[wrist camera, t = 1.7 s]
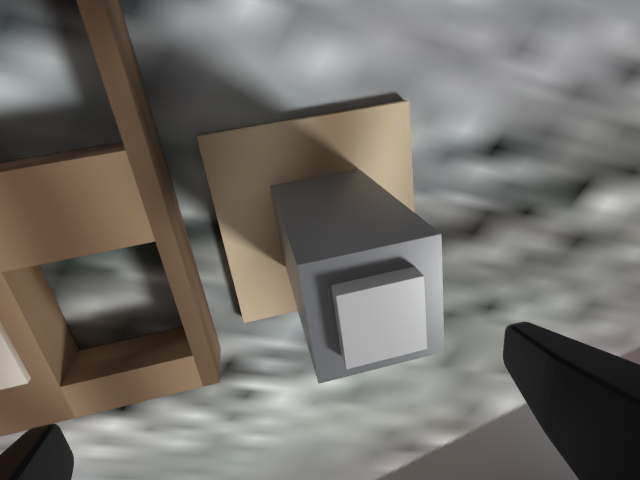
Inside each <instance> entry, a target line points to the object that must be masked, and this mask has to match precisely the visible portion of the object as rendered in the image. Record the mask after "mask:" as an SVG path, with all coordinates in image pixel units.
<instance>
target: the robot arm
mask: <svg viewBox="0 0 640 480" xmlns="http://www.w3.org/2000/svg"><path fill="white" fill-rule="evenodd" d="M503 360H504V364H505V366H506V368H507V370H508V372H509V373H510V375H511V377H512V379H513V380H514V382H515V384H516V385H517V387H518V389H519V390H520V392H521V394H522V395H523V397H524V399H525V400H526V402H527V404H528V406H529V407H530V409H531V410H532V412H533V414H534V416H535V417H536V419H537V421H538V422H539V424H540V426H541V427H542V429H543V430H544V432H545V433H546V435H547V436H548V438H549V439H550V440H551V442H552V443H553V445H554V446H555V447H556V449H557V450H558V451H559V453H560V454H561V456H562V457H563V458H564V460H565V461H566V462H567V464H568V465H569V466H570V468H571V469H572V471H573V472H574V473H575V475H576V476H577V477H578V479H579V480H640V365H639V364H636V363H634V362H631V361H629V360H626V359H623V358H621V357H618V356H615V355H613V354H610V353H608V352H605V351H602V350H600V349H597V348H595V347H592V346H589V345H587V344H584V343H581V342H579V341H576V340H574V339H571V338H568V337H566V336H563V335H560V334H558V333H555V332H553V331H550V330H547V329H545V328H542V327H539V326H537V325H534V324H532V323H529V322H520V323H515V324H511V325H509V326H507V328H506V330H505V338H504V349H503ZM73 467H74V457H73V453H72V451H71V449H70V447H69V445H68V443H67V441H66V439H65V437H64V435H63V433H62V431H61V429H60V427H59V426H58V425H56V424H47V425H43V426H38V427H34V428H31V429H29V430H28V431H27V432H26V433H24V434H23V435H22V436H21V437H20V438H19V439H18V440H17V441H15V442H14V443H13V444H12V445H11V446H10V447H9V448H7V449H6V450H5V451H4V452H3V453H2V454H1V455H0V480H71V478H72V473H73Z"/></svg>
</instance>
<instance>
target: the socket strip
mask: <svg viewBox="0 0 640 480" xmlns="http://www.w3.org/2000/svg"><path fill="white" fill-rule="evenodd" d="M76 1H77V4H78V7H79V10H80V13H81V16H82V19H83V22H84V25H85V28H86V32H87V35H88V38H89V41H90V44H91V47H92V50H93V53H94V56H95V59H96V62H97V65H98V68H99V71H100V74H101V77H102V80H103V83H104V86H105V89H106V92H107V96H108V99H109V102H110V105H111V108H112V111H113V114H114V117H115V120H116V123H117V126H118V129H119V132H120V135H121V138H122V141H123V142H120V143H114V144H108V145H102V146H96V147H90V148H85V149H79V150H73V151H67V152H61V153H55V154H49V155H43V156H37V157H32V158H26V159H20V160H14V161H8V162H2V163H0V436H4V435H8V434H12V433H17V432H21V431H25V430H29V429H31V428H34V427H38V426H43V425H47V424H53V423H57V422H61V421H65V420H69V419H73V418H77V417H81V416H85V415H89V414H93V413H98V412H102V411H106V410H110V409H114V408H118V407H122V406H126V405H130V404H134V403H138V402H142V401H146V400H150V399H154V398H158V397H162V396H166V395H170V394H174V393H179V392H183V391H187V390H191V389H195V388H199V387H203V386H207V385H211V384H215V383H219V382H220V351H221V349H220V345H219V342H218V338H217V335H216V331H215V328H214V325H213V321H212V318H211V314H210V311H209V307H208V304H207V301H206V297H205V294H204V290H203V287H202V283H201V280H200V277H199V273H198V270H197V266H196V263H195V260H194V256H193V253H192V249H191V246H190V242H189V239H188V236H187V232H186V229H185V225H184V222H183V218H182V215H181V212H180V208H179V205H178V201H177V198H176V194H175V191H174V188H173V184H172V181H171V177H170V174H169V170H168V167H167V164H166V160H165V157H164V153H163V150H162V146H161V143H160V140H159V136H158V133H157V129H156V126H155V123H154V119H153V116H152V112H151V109H150V105H149V102H148V99H147V95H146V92H145V88H144V85H143V81H142V78H141V75H140V71H139V68H138V64H137V61H136V57H135V54H134V51H133V47H132V44H131V40H130V37H129V33H128V30H127V27H126V23H125V20H124V16H123V13H122V9H121V6H120V3H119V0H76ZM150 242H156V245H157V248H158V251H159V254H160V257H161V260H162V263H163V266H164V269H165V272H166V275H167V278H168V281H169V285H170V288H171V291H172V294H173V297H174V300H175V303H176V306H177V309H178V312H179V315H180V318H181V321H182V324H183V327H180V328H176V329H172V330H167V331H163V332H158V333H154V334H150V335H145V336H141V337H136V338H132V339H128V340H123V341H119V342H114V343H110V344H106V345H101V346H97V347H92V348H88V349H84V350H79V349H78V347H77V344H76V342H75V340H74V338H73V336H72V334H71V331H70V329H69V327H68V325H67V323H66V321H65V318H64V316H63V314H62V312H61V310H60V308H59V306H58V303H57V301H56V299H55V297H54V295H53V293H52V290H51V288H50V286H49V284H48V282H47V280H46V277H45V275H44V273H43V271H42V269H41V267H40V264H45V263H50V262H55V261H60V260H65V259H70V258H75V257H80V256H85V255H90V254H95V253H100V252H105V251H110V250H115V249H120V248H125V247H130V246H135V245H140V244H145V243H150Z"/></svg>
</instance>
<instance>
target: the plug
mask: <svg viewBox="0 0 640 480" xmlns="http://www.w3.org/2000/svg"><path fill="white" fill-rule="evenodd" d="M270 189H271V194H272V199H273V205H274V210H275V215H276V220H277V225H278V230H279V235H280V241H281V246H282V251H283V256H284V261H285V266H286V270H287V274H288V277H289V281H290V284H291V288H292V291H293V295H294V298H295V302H296V305H297V309H298V312H299V316H300V319H301V323H302V327H303V330H304V334H305V337H306V341H307V344H308V348H309V351H310V355H311V358H312V362H313V365H314V369H315V372H316V376H317V379H318V383H323V382H327V381H331V380H335V379H339V378H342V377H346V376H350V375H354V374H358V373H362V372H366V371H370V370H374V369H378V368H382V367H386V366H390V365H394V364H397V363H401V362H405V361H409V360H413V359H417V358H421V357H425V356H429V355H433V354H437V353H441V352H444V325H443V282H442V238H441V233H439V232H438V231H437V230H436V229H434V228H433V227H432V226H431V225H429V224H428V223H427V222H426V221H424V220H423V219H422V218H420V217H419V216H418V215H417V214H415V213H414V212H413V211H412V210H410V209H409V208H408V207H407V206H405V205H404V204H403V203H401V202H400V201H399V200H398V199H396V198H395V197H394V196H393V195H391V194H390V193H389V192H388V191H386V190H385V189H384V188H382V187H381V186H380V185H379V184H377V183H376V182H375V181H374V180H372V179H371V178H370V177H369V176H367V175H366V174H365V173H364V172H362V171H361V170H360V169H355V170H349V171H344V172H339V173H334V174H328V175H323V176H318V177H313V178H307V179H302V180H297V181H292V182H286V183H281V184H276V185H271V186H270Z"/></svg>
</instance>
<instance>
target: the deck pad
mask: <svg viewBox="0 0 640 480" xmlns="http://www.w3.org/2000/svg"><path fill="white" fill-rule="evenodd" d="M197 141H198V145H199V149H200V153H201V157H202V161H203V165H204V169H205V172H206V176H207V180H208V184H209V188H210V192H211V196H212V200H213V204H214V208H215V212H216V215H217V219H218V223H219V227H220V231H221V235H222V239H223V243H224V247H225V251H226V255H227V258H228V262H229V266H230V270H231V274H232V278H233V282H234V286H235V290H236V294H237V298H238V301H239V305H240V309H241V313H242V317H243V321H244V323H246V322H251V321H255V320H259V319H264V318H268V317H272V316H277V315H281V314H285V313H290V312H294V311H298V309H297V305H296V302H295V298H294V295H293V291H292V288H291V284H290V281H289V277H288V274H287V270H286V266H285V261H284V256H283V251H282V246H281V241H280V235H279V230H278V225H277V220H276V215H275V210H274V205H273V199H272V194H271V189H270V186H271V185H276V184H281V183H286V182H292V181H297V180H302V179H307V178H313V177H318V176H323V175H328V174H334V173H339V172H344V171H349V170H355V169H360V170H361V171H362V172H364V173H365V174H366V175H367V176H369V177H370V178H371V179H372V180H374V181H375V182H376V183H377V184H379V185H380V186H381V187H382V188H384V189H385V190H386V191H388V192H389V193H390V194H391V195H393V196H394V197H395V198H396V199H398V200H399V201H400V202H401V203H403V204H404V205H405V206H407V207H408V208H409V209H410V210H412V211H413V212H414V213H415V211H414V191H413V171H412V151H411V131H410V111H409V101H406V100H403V101H397V102H391V103H385V104H379V105H374V106H368V107H362V108H356V109H350V110H344V111H339V112H333V113H327V114H321V115H315V116H310V117H304V118H298V119H292V120H286V121H280V122H275V123H269V124H263V125H257V126H251V127H245V128H240V129H234V130H228V131H222V132H216V133H211V134H205V135H199V136H197Z"/></svg>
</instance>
